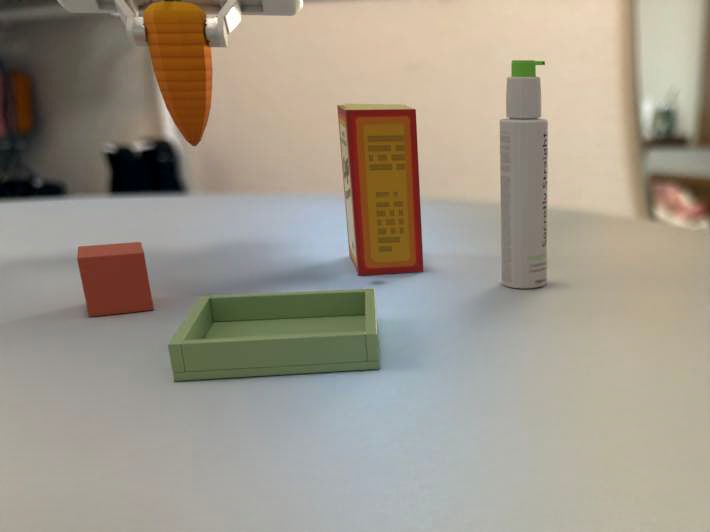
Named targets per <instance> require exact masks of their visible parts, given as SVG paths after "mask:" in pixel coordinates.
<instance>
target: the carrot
mask: <svg viewBox="0 0 710 532" xmlns="http://www.w3.org/2000/svg"><path fill="white" fill-rule="evenodd" d="M142 16H143V18H144V26H145V28H146V33H147V42H148V51H149V52H148V53H149V56H150V60H151V65H152V66H151V67H152V70H153V73H154V77H155V80H156V82H157V85H158V89H159V92H160V95H161V97H162V100H163V102H164V105H165V109H166V110H167V112H168V114H169V115H170V118H171V119H172V121H173V123H174V126H176V128H177V129H178V131H179V132H180V134H181V136H182V137H183V138H184V140H185V141H186V142H187V143H188V144H190V145H191V146H192V147H197V146H198V144H199V143H200V142H201V141H202V140H203V136H204V134H205V130H206V128H207V126H208V121H209V118H210V117H209V116H210V113H211V107H212V95H213V71H214V70H213V58H212V57H213V56H212V47H209V45H208V40H207V38H206V33H205V27H206V24H205V17H208V16H207V15H206V14H205V12H204V11H203V10H202V9H201V8H200V7H199V6H197V5H195V4H192V3H188V2H182V0H164V1H162V2H156V3H152V4H150V5H149V6H147V8H146V9H145V10H144V14H142Z"/></svg>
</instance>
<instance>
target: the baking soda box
mask: <svg viewBox="0 0 710 532" xmlns="http://www.w3.org/2000/svg"><path fill="white" fill-rule="evenodd" d="M336 106H337V119H338V131H339V132H338V133H339V144H340V154H341V155H340V156H341V157H340V158H341V169H342V181H343V182H342V183H343V193H344V205H345V217H346V218H345V219H346V229H347V243H348V254H349V255H348V257H349V258H350V260H351V263H352V264H353V266H354V269H355V272H356V273H357V276H375V275H390V274H391V275H393V274H405V273H408V274H409V273H423V272H424V252H423V249H424V248H423V232H422V231H423V230H422V229H423V228H422V211H421V210H422V209H421V208H422V207H421V189H420V187H421V186H420V169H419V167H420V166H419V147H418V146H419V145H418V128H417V126H418V125H417V109H416V108H413V107H411V106H408V105H406V104H399V103H398V104H394V103H393V104H392V103H391V104H389V103H385V104H383V103H381V104H380V103H345V102H344V104H337V105H336Z"/></svg>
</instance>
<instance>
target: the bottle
mask: <svg viewBox="0 0 710 532" xmlns="http://www.w3.org/2000/svg"><path fill="white" fill-rule="evenodd" d="M545 65H546V61H545V60H532V59H527V60H526V59H513V60H511V68H510V69H511V71H510V72H511V73H510V76H507V78H506V90H505V117H506V118H501V119H499V172H500V174H499V175H500V177H499V178H500V179H499V180H500V182H499V183H500V246H501V247H500V249H501V253H500V255H501V257H500V258H501V284H502V285H503V286H505V287H507V288H513V289H520V290H521V289H522V290H523V289H526V290H527V289H537V288H541V287H544V286H546V284H547V282H548V174H549V173H548V172H549V171H548V169H549V167H548V163H549V162H548V161H549V160H548V158H549V156H548V155H549V153H548V152H549V145H548V144H549V121H548V119H546V118H542V86H541V77H539V76H537V69H536V67H537V66H545Z"/></svg>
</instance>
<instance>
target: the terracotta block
mask: <svg viewBox="0 0 710 532" xmlns="http://www.w3.org/2000/svg"><path fill="white" fill-rule="evenodd" d="M76 256H77V257H76V260H77V264H78V269H79V274H80V279H81V285H82V289H83V294H84V299H85V304H86V308H87V314H88V317H89V318H92V317H93V318H94V317H101V316H113V315H121V314H130V313H138V312H148V311H149V312H150V311H153V310H155V309H154V303H153V302H154V301H153V296H152V291H151V286H150V285H151V284H150V279H149V273H148V268H147V262H146V256H145V251H144V247H143V243H142V242H141V241H133V242H120V243H107V244H95V245H94V244H93V245H81V246H78V247H77V255H76Z"/></svg>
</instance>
